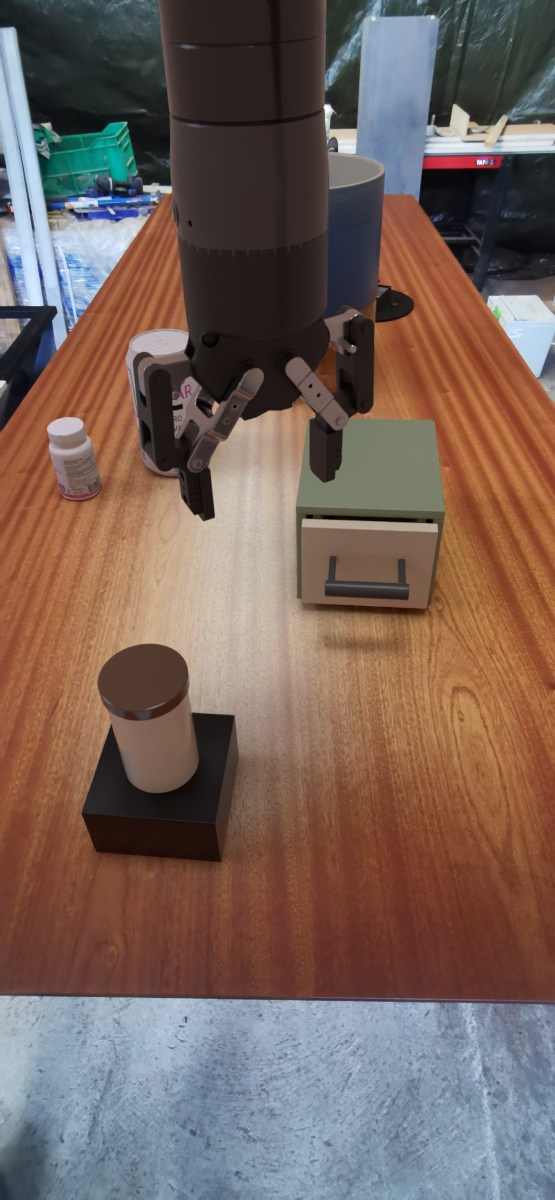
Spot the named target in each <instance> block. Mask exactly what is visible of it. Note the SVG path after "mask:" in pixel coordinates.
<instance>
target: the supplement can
mask: <svg viewBox="0 0 555 1200" xmlns="http://www.w3.org/2000/svg"><path fill="white" fill-rule="evenodd" d="M188 335H189V332H187V331H185V330H181V329H176V328H156V329H151V330H146V331H143V332H140V333H138V334H136V335H135V336H133V337H132V338H131V339H129V343H128V350H127V353H126V355H125V366H126V371H127V376H128V377H127V378H128V384H129V388H130V394H131V400H132V406H133V412H134V417H135V423H136V429H137V434H138V440H139V447H140V452H141V453H140V454H141V458H142V461H143V463H144V466H145V467H147V468H148V469H149V470H151V471H152V472H154V473H155V474H159V475H161V476H165V477H179V476H178V469H177V468H173V469H171V470H170V471H167V472H163V471H160V470H159V469H158V468H157V467H156V466H155V464H154V463H153V462H152V460H151V459H150V458H149V456H148V455H147V454H146V452H145V451H144V450H143V448H142V446H141V438H140V428H139V419H138V409H137V400H136V390H135V381H134V371H133V360H134V357H135V356H136V355H137V354H138V353H140V352H148V353H150V354H151V355H152V356H153V357H154V358H161V357H167V356H173V355H178V354H183V353H184V350H185V348H186V345H187V341H188ZM197 386H198V383H197V382H196V381H195V380H194V379H193V378H192V377H191V376H190V377H188V378H186V379H185V380H184V381H183V383H182V385H181V392H180V396H179V398H178V399H177V400H172V402H173V416H174V430H175V437H176V435H177V433H178V431H179V429H180V427H181V426H182V424H183V422H184V420H185V418H186V407H187V405H188V403H189V401H190V399H191V397H192V395H193V393H194V392H195V390H196V388H197Z"/></svg>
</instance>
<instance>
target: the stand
mask: <svg viewBox="0 0 555 1200" xmlns="http://www.w3.org/2000/svg"><path fill="white" fill-rule="evenodd" d="M192 716H193V722H194V728H195V734H196V740H197V746H198V752H199V763H198V767H197V769H196V771H195V773H194V775H193V776H192V777H191V778H190V780H189V781H187V782H186V783H185V784H184V785H182V786H181V787H179V788H177V789H175V790H172V791H169V792H164V793H150V792H146V791H143V790H140V789H139V788H137V787H135V786H134V785H133V784H132V783H131V782H130V781H129V779H128V778H127V775H126V773H125V769H124V766H123V762H122V759H121V755H120V752H119V748H118V745H117V741H116V738H115V734H114V731H113V727H112V724H111V723H110V726H109V729H108V732H107V734H106V738H105V741H104V744H103V747H102V749H101V752H100V755H99V759H98V761H97V765H96V767H95V771H94V774H93V776H92V780H91V783H90V785H89V789H88V791H87V795H86V798H85V801H84V803H83V807H82V809H81V813H80V814H81V816H82V820H83V822H84V824H85V827H86V831H87V832H88V836H89V837H90V840H91V843H92V846H93V848H94V851H95V852H98V853H108V854H123V855H133V856H134V855H135V856H147V857H160V858H172V859H182V860H183V859H185V860H197V861H209V862H222V859H223V852H224V847H225V840H226V836H227V835H226V834H227V828H228V824H229V823H228V822H229V817H230V811H231V805H232V799H233V792H234V786H235V781H236V780H235V779H236V774H237V768H238V764H239V763H238V762H239V756H240V755H239V744H238V734H237V725H236V716H235V714H227V713H212V712H211V713H209V712H193V711H192Z"/></svg>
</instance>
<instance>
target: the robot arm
mask: <svg viewBox="0 0 555 1200" xmlns="http://www.w3.org/2000/svg"><path fill="white" fill-rule="evenodd" d="M156 4H157V8H158V9H157V10H158V20H159V30H160V38H161V46H162V47H161V48H162V56H163V57H162V58H163V66H164V74H165V75H164V76H165V85H166V86H165V87H166V95H167V102H168V103H167V104H168V111H169V115H168V116H169V134H170V135H169V141H170V142H169V170H170V172H169V173H170V183H171V184H170V185H171V193H172V200H171V205H170V206H171V215H172V219H173V222H174V225H175V229H176V230H175V231H176V238H177V247H178V257H179V266H180V277H181V283H182V293H183V301H184V311H185V318H186V324H187V330H188V333H189V335H188V341H187V345H186V348H185V350H184V353H183V354H178V355H173V356H167V357H161V358H154V357H153V356H152V355H151V354H150V353H148V352H140V353H138V354H137V355H136V356H135V357H134V360H133V371H134V381H135V390H136V400H137V409H138V419H139V428H140V438H141V446H142V448H143V450H144V451H145V452H146V454H147V455H148V456H149V458H150V459H151V460H152V462H153V463H154V464H155V466H156V467H157V468H158V469H159V470H160V471H163V472H167V471H170V470H171V469H173V468H177V469H178V476H177V477H178V483H179V490H180V497H181V500H182V502H184V504H185V505H186V507H187V508H188V509H189V511H190V512H191V513H192V515H193V516H198V517H199V518H200V520H201V521H202V522H206V521H210V520H213V519H215V518H216V511H215V501H214V490H213V482H212V471H211V468H210V467H209V466H208V463H209V462H210V460H211V458H212V457H213V455H214V454H215V451H216V450H217V448H218V445H219V444H220V443H222V442H226V441H227V439H229V437H230V435H231V434H232V432H233V430H234V428H235V426H236V425H237V423H238V421H239V420H240V418H241V419H242V420H243V421H245V422H246V421H249V420H253V419H256V418H259V417H260V416H262V415H263V414H265V413H267V412H282V411H285V410H289V409H292V408H293V403H295V402H296V401H297V400H299V398H300V399H301V400H302V401H303V402H304V404H306V406H307V407H308V408H309V409H310V410H311V411H312V412H313V413H314V417H315V418H313V419H310V428H309V465H310V469H311V471H312V473H313V474H314V475H315V476H317V477H318V478H319V479H320V480H321V481H322V482H323V483H326V482H329V481H332V480H334V479H335V473H336V471H337V470H339V468H340V466H341V463H342V441H343V428H344V427H345V426H346V425H347V423H348V419H349V418H353V416H355V415H357V414H360V415H365V414H368V413H369V412H371V410H372V409H373V407H374V403H375V402H374V401H375V329H374V322H373V321H372V320H371V319H369V318H368V317H366V316H365V315H364V314H362V313H360V312H359V311H357V310H355V309H353V308H351V307H350V306H348V305H343V306H341V307H339V308H338V310H337V311H336V313H335V316H334V317H331V318H328V319H324V317H323V315H324V313H325V310H326V307H327V277H328V225H329V156H328V152H329V147H328V138H327V126H326V108H325V105H326V53H327V52H326V50H327V49H326V47H327V46H326V45H327V43H326V42H327V37H326V36H327V34H326V32H327V0H156ZM329 346H330V347H329ZM328 347H329V348H331V349H333V350H334V351H335V383H336V391H334V392H333V393H331V391H330V390H328V388H327V387H326V385H324V383H323V382H322V381H321V380H320V379H319V378H318V376H317V375H316V374H315V371H317V368H318V366H319V365H320V363H321V362H322V359H323V358H324V356H325V355H326V353H327V352H328V350H329V348H328ZM327 349H328V350H327ZM190 376H191V377H192V378H193V379H194V380H195V381H196V382H197V383H198V386H197V388H196V390H195V392H194V393H193V395H192V397H191V399H190V401H189V403H188V405H187V407H186V418H185V420H184V422H183V424H182V426H181V427H180V429H179V431H178V433H177V435H176V437H175V430H174V416H173V402H172V400H177V399H178V398H179V396H180V392H181V385H182V383H183V381H184V380H185V379H186V378H188V377H190ZM215 403H216V404H218V407H217V408H216V410H215V412H214V413H213V407H214V404H215Z"/></svg>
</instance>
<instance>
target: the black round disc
mask: <svg viewBox="0 0 555 1200" xmlns="http://www.w3.org/2000/svg"><path fill="white" fill-rule="evenodd" d="M380 282H381V280H380V278H378V292H377V296H376V298H375V299H376V313H375V323H385V322H391V321H394V320H399V319H401V318H404V317H406V316H408V315H409V314H411V312H413V310H414V308H415V301H414V300H413V298H412V297H411V296H409V295H408V294H406V293H405V292H401V291H399V290H396V289H392V285H387V284H386V285H385V284H380ZM359 311H360V310H359Z"/></svg>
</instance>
